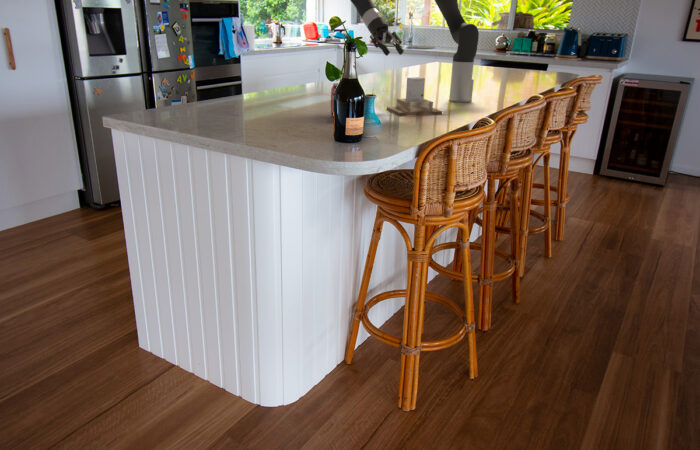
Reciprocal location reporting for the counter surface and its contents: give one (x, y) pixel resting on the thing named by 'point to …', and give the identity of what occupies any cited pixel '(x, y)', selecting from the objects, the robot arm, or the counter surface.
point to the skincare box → (415, 89)
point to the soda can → (332, 96)
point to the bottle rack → (414, 108)
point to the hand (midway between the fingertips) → (395, 53)
